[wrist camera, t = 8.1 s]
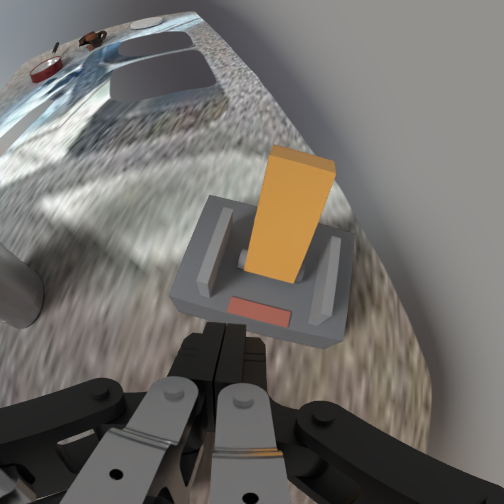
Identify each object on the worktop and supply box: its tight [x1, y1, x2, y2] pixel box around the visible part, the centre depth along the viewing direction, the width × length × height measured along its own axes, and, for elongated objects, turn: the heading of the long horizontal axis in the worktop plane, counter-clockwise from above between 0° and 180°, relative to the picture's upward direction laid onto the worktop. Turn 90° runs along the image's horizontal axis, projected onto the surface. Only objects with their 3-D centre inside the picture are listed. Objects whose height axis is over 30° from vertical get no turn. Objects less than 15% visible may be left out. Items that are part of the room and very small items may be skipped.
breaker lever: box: [237, 145, 336, 284], centre depth 24 cm, size 6×2×13 cm, turn 76°
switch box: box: [169, 195, 355, 349], centre depth 30 cm, size 18×13×10 cm
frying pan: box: [30, 42, 63, 83], centre depth 63 cm, size 32×13×6 cm, turn 27°
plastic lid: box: [131, 17, 162, 29], centre depth 80 cm, size 14×14×2 cm
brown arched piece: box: [79, 31, 107, 51], centre depth 69 cm, size 12×10×8 cm
